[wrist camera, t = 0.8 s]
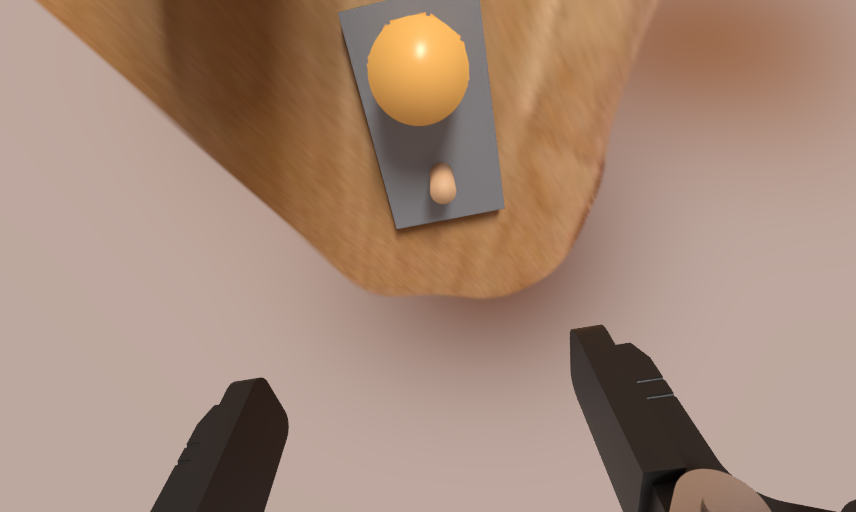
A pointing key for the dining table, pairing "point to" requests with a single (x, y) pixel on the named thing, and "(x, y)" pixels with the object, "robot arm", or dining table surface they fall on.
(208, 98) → the dining table surface
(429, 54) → the wire nut
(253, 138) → the dining table surface
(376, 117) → the board
